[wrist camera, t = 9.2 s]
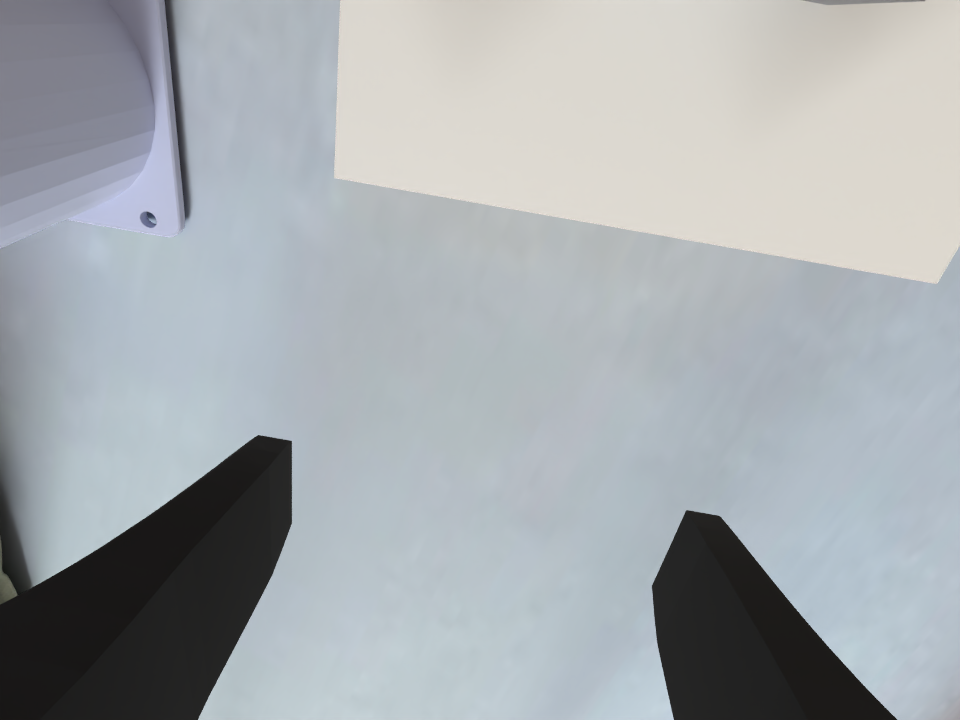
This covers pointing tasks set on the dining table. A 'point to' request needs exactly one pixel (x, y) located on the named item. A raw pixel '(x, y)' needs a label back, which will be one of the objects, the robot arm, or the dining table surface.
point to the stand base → (672, 118)
